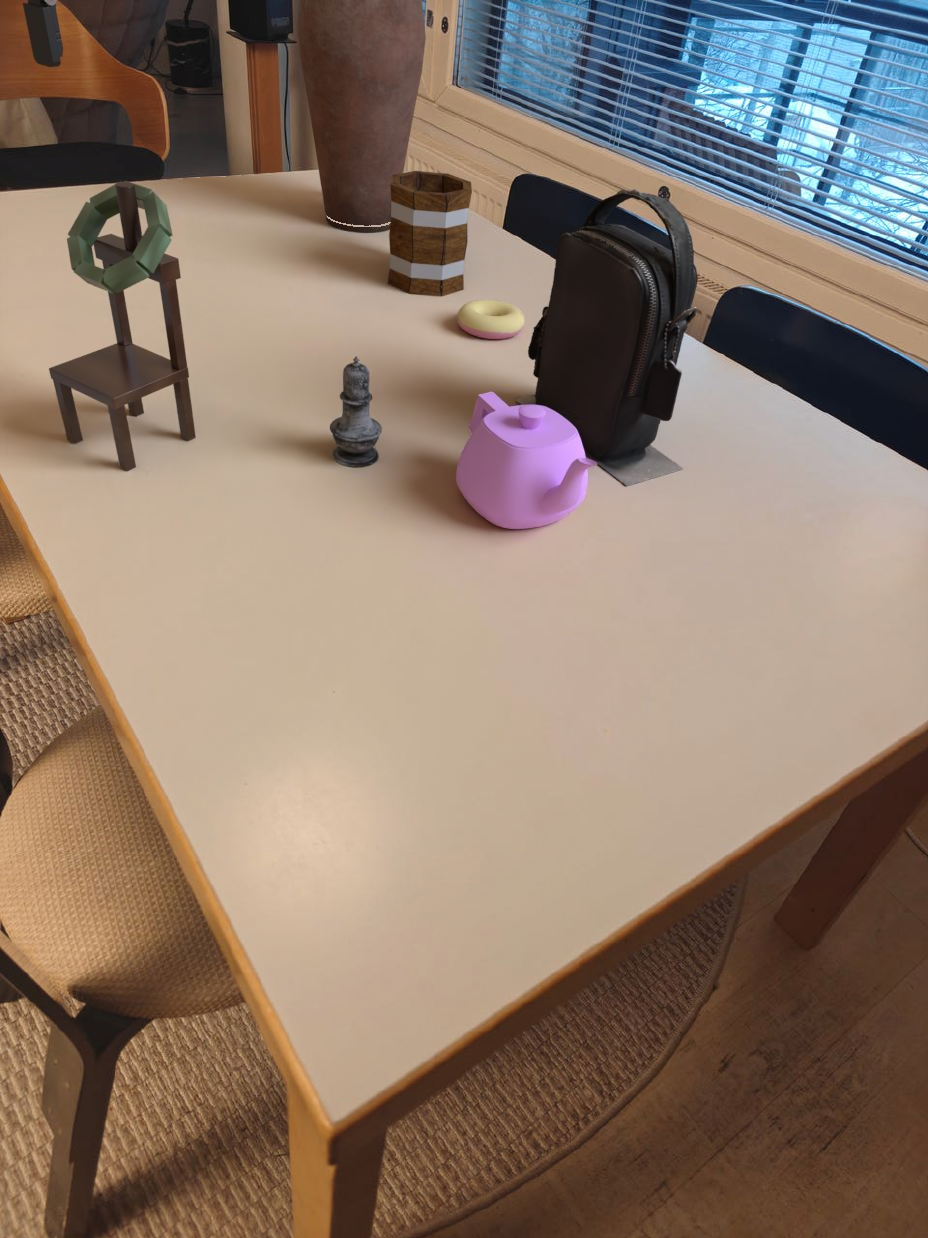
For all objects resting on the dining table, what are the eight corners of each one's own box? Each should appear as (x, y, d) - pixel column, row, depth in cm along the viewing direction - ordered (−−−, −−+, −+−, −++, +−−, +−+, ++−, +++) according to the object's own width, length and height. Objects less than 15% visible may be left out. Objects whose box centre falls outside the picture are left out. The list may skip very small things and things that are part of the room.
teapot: (525, 571, 85) (541, 475, 78) (423, 473, 97) (429, 381, 90) (626, 537, 91) (650, 444, 84) (518, 448, 103) (531, 361, 96)
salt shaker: (348, 473, 96) (348, 373, 88) (320, 450, 99) (317, 351, 91) (391, 459, 99) (395, 361, 91) (362, 437, 102) (363, 340, 94)
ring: (137, 303, 85) (123, 291, 83) (65, 274, 88) (51, 262, 87) (188, 210, 85) (176, 196, 83) (115, 185, 89) (101, 172, 87)
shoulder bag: (683, 468, 103) (755, 223, 85) (626, 486, 99) (689, 232, 81) (568, 389, 117) (608, 162, 99) (514, 401, 113) (545, 167, 94)
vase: (395, 196, 177) (404, -85, 148) (429, 239, 159) (448, -72, 129) (291, 195, 171) (279, -97, 142) (314, 240, 153) (305, -86, 123)
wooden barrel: (479, 293, 141) (489, 194, 131) (402, 299, 136) (406, 197, 126) (434, 252, 154) (440, 159, 144) (362, 256, 149) (363, 160, 139)
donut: (518, 357, 128) (518, 323, 134) (527, 330, 125) (527, 297, 131) (453, 341, 127) (456, 308, 133) (460, 313, 123) (463, 280, 129)
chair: (127, 472, 92) (77, 216, 75) (65, 440, 96) (4, 189, 79) (201, 435, 99) (170, 193, 82) (141, 407, 103) (100, 170, 86)
